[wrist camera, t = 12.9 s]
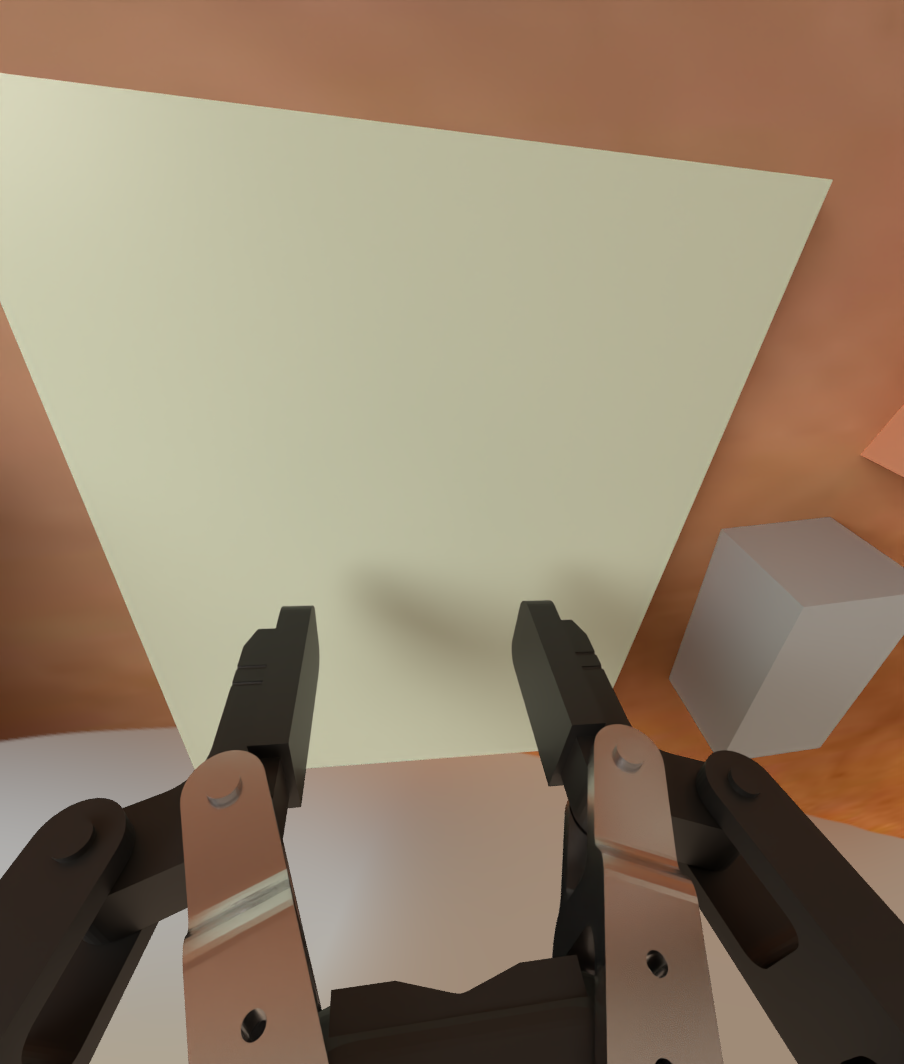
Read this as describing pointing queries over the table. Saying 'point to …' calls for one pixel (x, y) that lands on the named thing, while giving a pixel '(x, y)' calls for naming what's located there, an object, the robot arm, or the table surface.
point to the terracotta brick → (889, 445)
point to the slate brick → (786, 634)
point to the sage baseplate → (378, 385)
